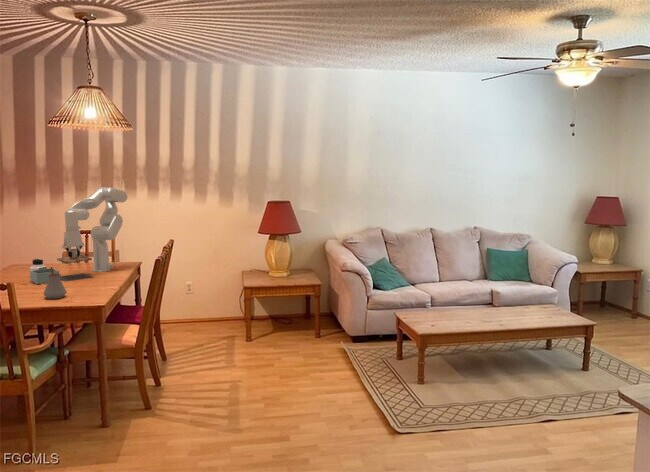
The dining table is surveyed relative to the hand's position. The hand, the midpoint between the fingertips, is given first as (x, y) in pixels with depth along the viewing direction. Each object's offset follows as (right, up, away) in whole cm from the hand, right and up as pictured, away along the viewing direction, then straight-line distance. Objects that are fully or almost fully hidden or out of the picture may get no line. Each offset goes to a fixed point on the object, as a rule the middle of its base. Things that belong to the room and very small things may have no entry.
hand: (74, 256), depth 348 cm
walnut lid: (0, -2, 0) cm, 2 cm away
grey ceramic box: (-13, -16, -12) cm, 23 cm away
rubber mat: (0, -14, +1) cm, 14 cm away
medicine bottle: (-24, -14, +2) cm, 28 cm away
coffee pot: (+11, -21, -47) cm, 53 cm away
